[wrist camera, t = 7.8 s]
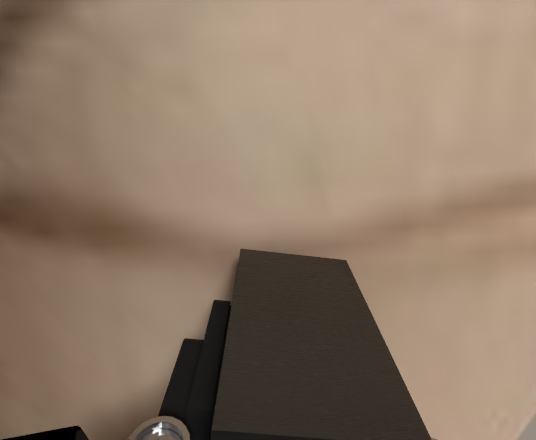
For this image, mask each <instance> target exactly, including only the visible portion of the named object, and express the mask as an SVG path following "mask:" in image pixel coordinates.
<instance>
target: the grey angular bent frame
mask: <svg viewBox="0 0 536 440" xmlns="http://www.w3.org/2000/svg"><path fill="white" fill-rule="evenodd" d="M211 440H431V437H430V435H429V433H428V431H427V429H426V427H425V425H424V423H423V421H422V419H421V417H420V414H419V412H418V410H417V408H416V406H415V404H414V402H413V400H412V398H411V396H410V393H409V391H408V389H407V387H406V385H405V383H404V381H403V379H402V377H401V375H400V372H399V370H398V368H397V366H396V364H395V362H394V360H393V358H392V356H391V354H390V351H389V349H388V347H387V345H386V343H385V341H384V339H383V337H382V335H381V333H380V331H379V328H378V326H377V324H376V322H375V320H374V318H373V316H372V314H371V312H370V310H369V307H368V305H367V303H366V301H365V299H364V297H363V295H362V293H361V291H360V289H359V286H358V284H357V282H356V280H355V278H354V276H353V274H352V272H351V270H350V268H349V266H348V263H347V261H346V260H339V259H330V258H321V257H312V256H302V255H293V254H284V253H275V252H266V251H256V250H247V249H241V250H240V256H239V263H238V269H237V275H236V281H235V287H234V294H233V300H232V306H231V312H230V318H229V325H228V331H227V337H226V343H225V349H224V356H223V362H222V368H221V374H220V380H219V387H218V393H217V399H216V405H215V411H214V417H213V424H212V430H211Z"/></svg>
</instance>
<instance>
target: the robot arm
mask: <svg viewBox="0 0 536 440" xmlns="http://www.w3.org/2000/svg"><path fill="white" fill-rule="evenodd" d="M230 312H231V306H230V301H220V300H214V302H213V306H212V310H211V314H210V318H209V322H208V326H207V330H206V334H205V338H204V340H196V339H184V341H183V343H182V346H181V349H180V352H179V355H178V358H177V361H176V364H175V367H174V370H173V373H172V376H171V379H170V382H169V385H168V388H167V391H166V394H165V397H164V400H163V403H162V406H161V409H160V412H159V415H158V417H154V418H151V419H149V420H147V421H145V422H143V423H142V424H141V425H139V426H138V427H137V428H136V429H135V430H134V431H133V432H132V434H131V435H130V436H129V438H128V440H211V430H212V424H213V417H214V411H215V405H216V399H217V393H218V387H219V380H220V374H221V368H222V362H223V356H224V349H225V343H226V337H227V331H228V325H229V318H230ZM431 440H437V439H434V438H431Z"/></svg>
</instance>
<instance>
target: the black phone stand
mask: <svg viewBox="0 0 536 440" xmlns="http://www.w3.org/2000/svg"><path fill="white" fill-rule="evenodd" d="M3 440H89V439H88V438H87V436H86V435H85V433H84V432H83V430H82V429H81V427H79V426H72V427H67V428H61V429H56V430H51V431H45V432H40V433H35V434H29V435H24V436H19V437H13V438H8V439H3Z"/></svg>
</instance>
